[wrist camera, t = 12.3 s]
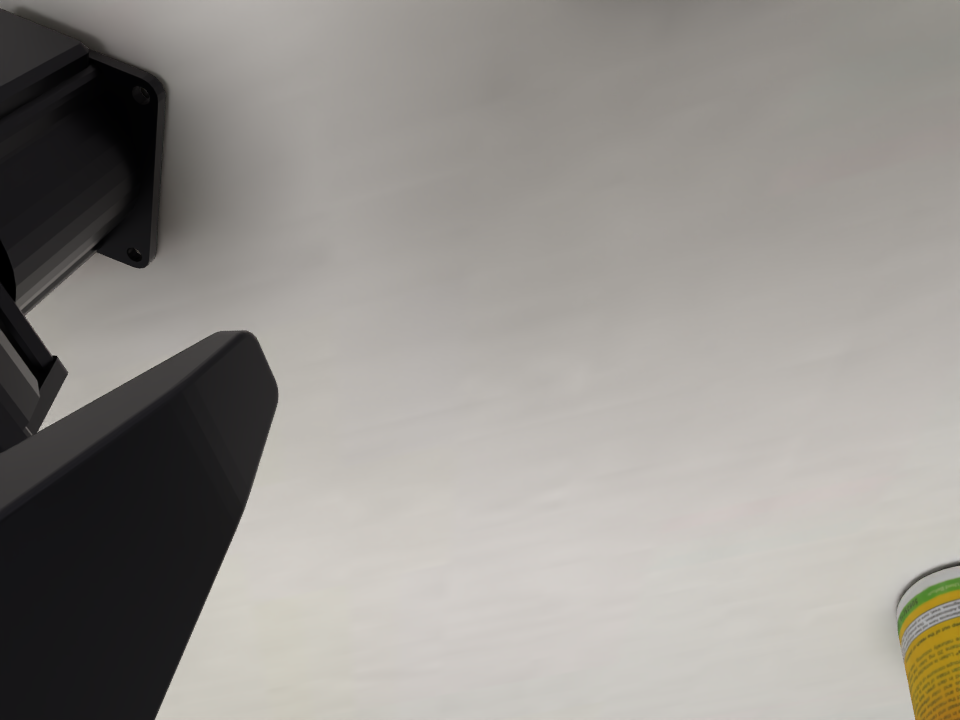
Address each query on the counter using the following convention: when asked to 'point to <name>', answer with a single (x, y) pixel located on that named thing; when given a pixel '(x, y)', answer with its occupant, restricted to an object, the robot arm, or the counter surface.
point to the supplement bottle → (932, 644)
